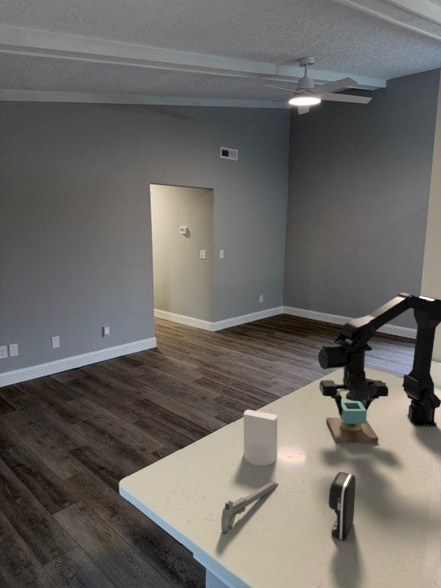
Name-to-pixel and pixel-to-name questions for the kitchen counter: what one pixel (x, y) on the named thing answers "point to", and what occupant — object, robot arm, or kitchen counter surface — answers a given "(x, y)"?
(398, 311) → the robot arm
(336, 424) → the stand
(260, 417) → the white upright block
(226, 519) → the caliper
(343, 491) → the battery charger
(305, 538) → the kitchen counter surface
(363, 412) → the collar
